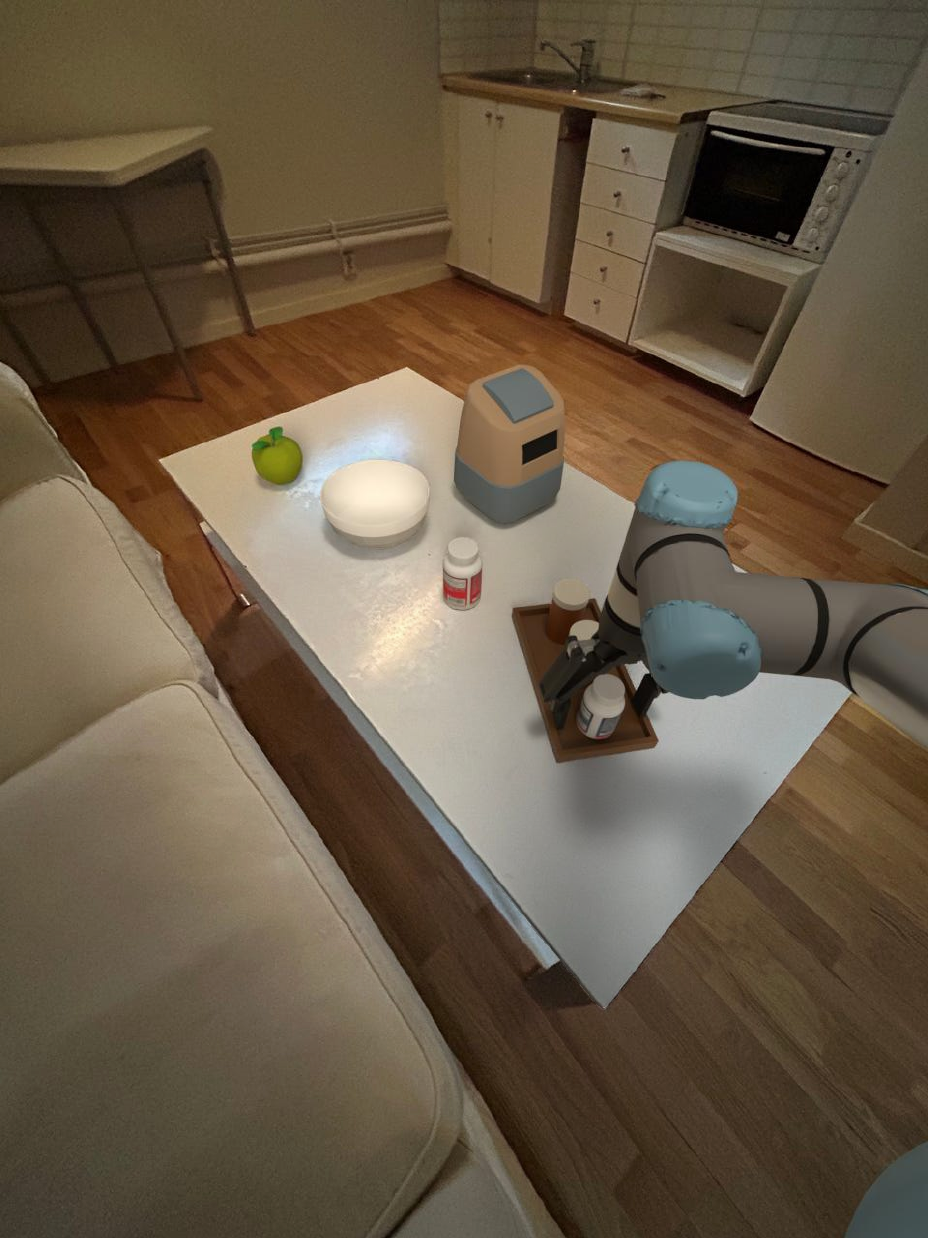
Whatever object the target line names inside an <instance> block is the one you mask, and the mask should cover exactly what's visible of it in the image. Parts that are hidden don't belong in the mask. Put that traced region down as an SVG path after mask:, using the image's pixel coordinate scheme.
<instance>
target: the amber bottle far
mask: <svg viewBox="0 0 928 1238" xmlns="http://www.w3.org/2000/svg"><path fill="white" fill-rule="evenodd" d="M551 596H552V597H551V602H550V603H551V606H550V611H549V615H548V620H547V625H546V635H547V636H548V638H549V639H550V640H551V641H553V642H555V643H557V644H566V639H567V638H568V637H569V633H570V630H571V627H572V626H573V625H574V624H575V623H576V622H578V621H581V620H582V619H583V615H584V612H585V608H586V605H587V603H588V601H589V599H590V597H591V591H590V589H589V586H588V585H586V584H585V582H583V581H582V580H578V579H576V578H563V579H560V580H559V581H557V582H556V583H555V584H554V586H553V589H552V595H551Z"/></svg>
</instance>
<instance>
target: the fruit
mask: <svg viewBox="0 0 928 1238" xmlns="http://www.w3.org/2000/svg"><path fill="white" fill-rule="evenodd" d="M283 434H284V428H283V426H275V427H272V428H270V429H269V430H268V434H266V435H264V436H260V437H259V438H258V439H257V440H256V441H255V442H253V443H252V444H251V447H252V448H251V459H252V462H253V466H254V469H255V471H256V472H257V474H258V475H259V476H260V478H262V479H264V481H266V482H269V483H271V484H274V485H278V486H282V485H286V484H291V483H293V482H294V481H295V480H296V479H297V477H298V476H299V475H300V473H301V471H302V469H303V468H302V467H303V462H304V456H303V451H302V449H301V446H300V445H299V444H298V442H297V441H296V440H294V439H292V438H291V437H289V436H285V435H283Z"/></svg>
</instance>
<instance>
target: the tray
mask: <svg viewBox="0 0 928 1238" xmlns="http://www.w3.org/2000/svg"><path fill="white" fill-rule="evenodd" d="M550 606H551V602H550V603H543V604H534V605H526V606H517V607H512V612H511V618H512V622H513V625H514V628H515V631H516V635H517V638H518V642H519V645H520V648H521V651H522V654H523V659H524V662H525V664H526V668H527V671H528V674H529V677H530V681H531V683H532V688H533V691H534V694H535V697H536V700H537V704H538V707H539V711H540V713H541V717H542V720H543V723H544V727H545V730H546V734H547V737H548V740H549V744H550V746H551V750H552V753H553V757H554V759H555V763H556V764H560V763H561V764H562V763H566V762H573V761H580V760H585V759H592V758H599V757H605V756H612V755H618V754H623V753H624V754H625V753H632V752H637V751H643V750H650V749H655V748H656V747H657V745H658V743H659V738H658V736H657V734H656V731H655V729H654V726H653V724H652V722H651V720H650V718H649V716H648V714H647V713H648V712H647V713H646V715H645V717H642V718H639V717H638V715H637V712H636V710H635V708H634V705H633V703H632V699H633V697H634V695H635V693H636V690H637V688H636V687H635V684H634V682H633V680H632V678H631V675H630V673H629V671H628V669H627V667H626V664H623V665H620V666H615V667H614V668H612V669H611V670H610V671H609V672H607V673H606V674H610V675H614V676H616V677H617V678H619V679H620V680H621V681H622V682H623V684H624V687H625V693H624V698H625V706H624V709H623V712H622V714H621V716H620V718H619V720H618V723H617V725H616V727H615V729H614V731H613V733H612V734H611V735H610V736H609V737H607V738H604V739H593V738H590V737H588V736H586V735H585V734H583V733H582V732H581V731H580V729H579V728H578V726H577V722H576V716H577V713H578V710H579V707H580V704H581V701H582V698H583V695H584V692H585V690H586V689H587V687H585V688H582V689H580V690H579V691H578V692H577V693H575V694H574V695H573V696H572V697H570V700H571V706H570V709H569V713H568V716H567V719H566V722H565V725H564V728H563V729H561V730H557V727H556V724H555V721H554V717H553V714H552V710H551V707H550V704H549V702H547V703H546V702H544V701H543V698H542V695H541V692H540V688H539V685H538V683H539V682H540V681H541V679H542V678H543V677H544V675H545V674H546V673H547V671H548V670H549V668H550V667H551V666H552V664H553V663H554V662H555V660H556V659H557V658H558V656H559V655H560V654H561V652H562V651H563V650H564V648H565V644H557V643H555V642H553V641H551V640H550V639H549V638H548V636H547V635H546V625H547V620H548V615H549V611H550ZM601 612H602V609H601V608H600V606H599V604H598V602H597V600H596V598H595V597H594V598H589V601H588V603H587V605H586V608H585V612H584V615H583V619H582V620H592V621H595V622H598V623H599V619H600V615H601ZM601 660H602V659H601ZM602 663H604V661H603V660H602ZM599 675H601V674H599ZM599 675H598V676H599ZM596 677H597V676H596ZM596 677H595V678H596ZM595 678H594V679H595ZM592 684H593V682H592ZM589 686H590V685H589Z"/></svg>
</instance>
